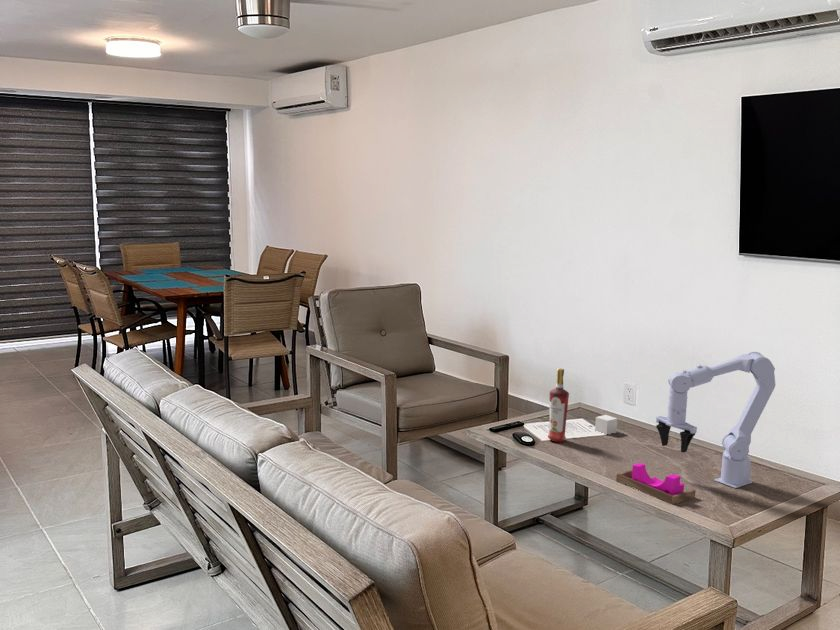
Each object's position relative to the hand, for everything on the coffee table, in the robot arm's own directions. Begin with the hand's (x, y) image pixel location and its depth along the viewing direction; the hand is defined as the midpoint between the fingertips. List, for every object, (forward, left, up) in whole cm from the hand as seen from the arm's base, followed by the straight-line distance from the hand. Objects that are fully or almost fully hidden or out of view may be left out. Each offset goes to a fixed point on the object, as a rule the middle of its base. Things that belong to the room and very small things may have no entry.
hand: (674, 448), depth 255 cm
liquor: (+6, -49, -11) cm, 50 cm away
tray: (+13, +4, -10) cm, 17 cm away
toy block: (+14, +5, -11) cm, 18 cm away
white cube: (-19, -47, -11) cm, 52 cm away
